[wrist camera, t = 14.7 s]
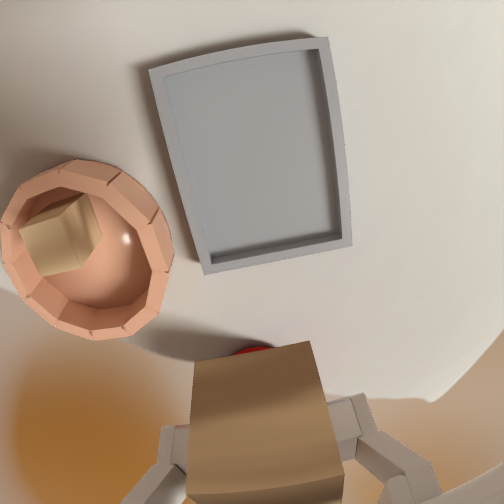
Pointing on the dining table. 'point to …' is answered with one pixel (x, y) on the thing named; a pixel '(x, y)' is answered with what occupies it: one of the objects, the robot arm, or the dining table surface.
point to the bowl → (94, 253)
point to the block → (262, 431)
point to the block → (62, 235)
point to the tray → (257, 151)
